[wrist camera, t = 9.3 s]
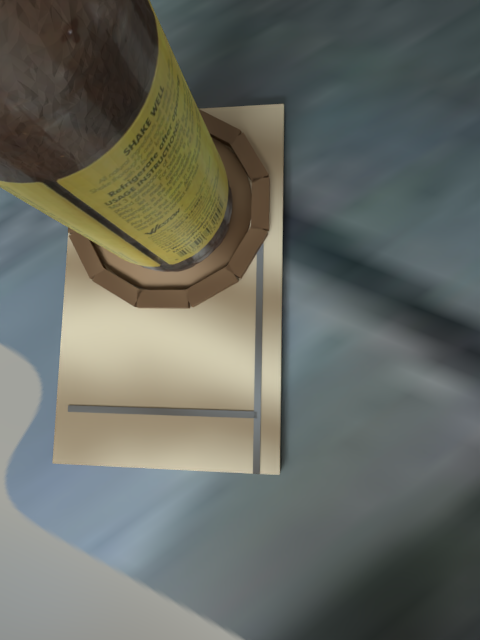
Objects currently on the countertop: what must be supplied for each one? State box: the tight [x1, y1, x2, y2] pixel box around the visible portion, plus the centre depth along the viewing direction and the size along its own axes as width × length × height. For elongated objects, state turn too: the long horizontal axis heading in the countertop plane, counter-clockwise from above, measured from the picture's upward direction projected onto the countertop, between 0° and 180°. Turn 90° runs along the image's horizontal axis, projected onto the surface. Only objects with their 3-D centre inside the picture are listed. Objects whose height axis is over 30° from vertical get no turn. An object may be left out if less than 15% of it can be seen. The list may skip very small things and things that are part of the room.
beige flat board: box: [53, 104, 284, 475], centre depth 22 cm, size 17×10×1 cm, turn 179°
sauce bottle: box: [0, 0, 233, 272], centre depth 12 cm, size 6×6×20 cm
